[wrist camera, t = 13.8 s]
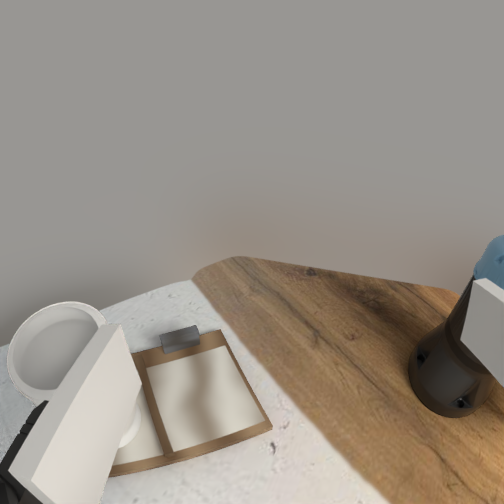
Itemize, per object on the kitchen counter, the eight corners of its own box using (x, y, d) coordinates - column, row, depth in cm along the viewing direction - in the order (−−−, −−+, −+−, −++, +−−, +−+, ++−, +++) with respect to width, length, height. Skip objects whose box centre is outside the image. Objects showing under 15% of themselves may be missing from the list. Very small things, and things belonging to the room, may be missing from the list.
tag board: (220, 334, 43) (219, 315, 41) (271, 429, 32) (275, 416, 29) (63, 374, 34) (51, 357, 32) (80, 481, 23) (63, 472, 21)
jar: (102, 369, 35) (60, 286, 26) (166, 407, 32) (135, 328, 23) (56, 426, 27) (-12, 355, 18) (119, 475, 24) (53, 426, 15)
